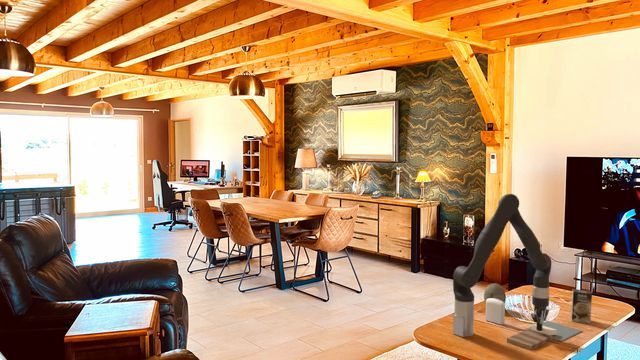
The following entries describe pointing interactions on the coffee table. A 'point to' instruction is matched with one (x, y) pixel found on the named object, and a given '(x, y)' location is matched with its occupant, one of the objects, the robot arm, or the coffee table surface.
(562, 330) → the mat
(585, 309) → the coffee box
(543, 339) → the deck
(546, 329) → the tile
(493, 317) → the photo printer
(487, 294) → the decorative egg
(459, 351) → the coffee table surface
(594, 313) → the coffee table surface
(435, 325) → the coffee table surface
